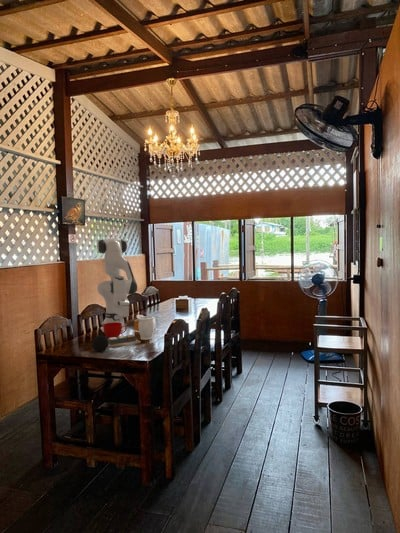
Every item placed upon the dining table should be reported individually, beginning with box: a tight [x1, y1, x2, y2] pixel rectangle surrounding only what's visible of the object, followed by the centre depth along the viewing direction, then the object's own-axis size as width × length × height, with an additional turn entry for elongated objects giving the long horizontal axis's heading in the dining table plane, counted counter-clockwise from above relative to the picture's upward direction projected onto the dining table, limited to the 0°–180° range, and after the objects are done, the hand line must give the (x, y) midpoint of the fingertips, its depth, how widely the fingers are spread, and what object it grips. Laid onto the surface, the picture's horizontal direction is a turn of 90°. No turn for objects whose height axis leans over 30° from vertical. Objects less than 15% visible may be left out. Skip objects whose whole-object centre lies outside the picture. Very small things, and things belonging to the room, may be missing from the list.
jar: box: [137, 315, 155, 341], centre depth 273 cm, size 11×10×15 cm
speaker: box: [91, 335, 108, 352], centre depth 243 cm, size 10×10×10 cm
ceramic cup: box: [102, 322, 128, 339], centre depth 277 cm, size 13×17×10 cm
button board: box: [107, 335, 142, 349], centre depth 261 cm, size 11×22×4 cm, turn 122°
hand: (120, 321), depth 260 cm, fingers closed
